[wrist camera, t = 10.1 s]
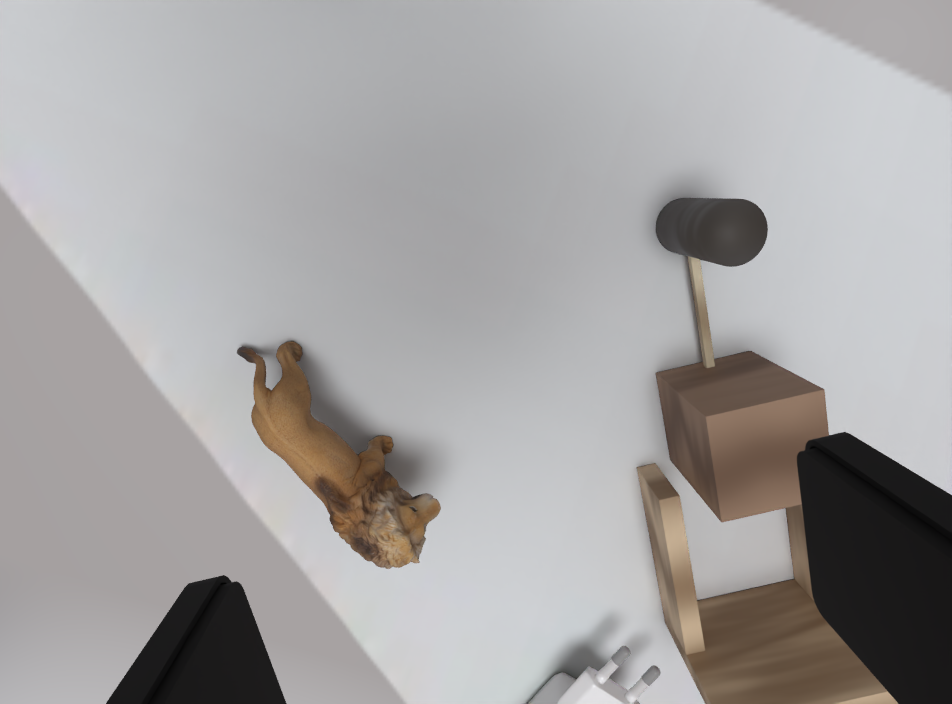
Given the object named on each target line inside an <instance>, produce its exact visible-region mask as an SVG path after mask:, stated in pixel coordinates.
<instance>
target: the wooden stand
mask: <svg viewBox="0 0 952 704" xmlns="http://www.w3.org/2000/svg"><path fill="white" fill-rule="evenodd" d="M637 471H638V476H639V482H640V487H641V493H642V498H643V504H644V509H645V514H646V520H647V525H648V531H649V536H650V542H651V547H652V553H653V558H654V564H655V569H656V575H657V580H658V586H659V591H660V596H661V602H662V607H663V613H664V618H665V623H666V625H667V627H668V629H669V632H670V634H671V636H672V638H673V640H674V642H675V644H676V646H677V648H678V650H679V652H680V654H681V656H682V658H683V660H684V662H685V664H686V666H687V668H688V670H689V672H690V674H691V676H692V678H693V680H694V682H695V684H696V686H697V688H698V690H699V692H700V694H701V696H702V698H703V700H704V702H705V704H898V703H897V701H896V700H895V699H894V698H893V697H892V696H891V695H890V693H889V692H888V691H887V690H886V689H885V688H884V687H883V685H882V684H881V683H880V682H879V681H878V680H877V679H876V677H875V676H874V675H873V674H872V673H871V672H870V671H869V669H868V668H867V667H866V666H865V665H864V664H863V663H862V661H861V660H860V659H859V658H858V657H857V656H856V655H855V653H854V652H853V651H852V650H851V649H850V648H849V647H848V645H847V644H846V643H845V642H844V641H843V640H842V639H841V637H840V636H839V635H838V634H837V633H836V632H835V631H834V629H833V628H832V627H831V626H830V625H829V624H828V623H827V621H826V620H825V619H824V618H823V617H822V615H821V614H820V612H819V610H818V609H817V606H816V604H815V602H814V599H813V595H812V589H811V580H810V572H809V563H808V554H807V546H806V537H805V528H804V520H803V511H802V504H800V505H796V506H792V507H787V508H786V514H787V522H788V530H789V538H790V547H791V555H792V563H793V572H794V579H792V580H788V581H783V582H779V583H774V584H770V585H766V586H761V587H757V588H752V589H748V590H743V591H739V592H734V593H730V594H726V595H721V596H717V597H712V598H708V599H703V600H699V601H697V598H696V592H695V586H694V580H693V574H692V568H691V562H690V556H689V550H688V544H687V538H686V532H685V526H684V520H683V514H682V508H681V502H680V496H679V494H678V493H677V492H676V490H675V489H674V488H673V486H672V485H671V484H670V482H669V481H668V480H667V478H666V477H665V476H664V474H663V473H662V472H661V470H660V469H659V468H658V466H657V465H656V464H655V463H654V464H650V465H646V466H641V467H637Z"/></svg>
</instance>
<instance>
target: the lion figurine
mask: <svg viewBox="0 0 952 704" xmlns="http://www.w3.org/2000/svg"><path fill="white" fill-rule="evenodd" d="M237 354H238V355H240V356H241V357H243V358H245V359H246V360H247V361H248V362H250V363H255V364H256V371H255V377H254V400H255V405H254V407H253V410H252V415H251V418H252V423H253V425H254V427H255V429H256V431H257V433H258V435H259V436H260V438H261V440H262V442H263V443H264V444H265V445H266V446H267V447H268V448H269V449H270V450H271V451H273V452H274V453H276V454H277V455H278V456H280V457H281V458H282V459H283V460H284V461H285V462H286V463H287V464H288V465H289V466H290V467H291V468H292V470H293V471H294V472H295V473H296V474H297V475H298V476H299V478H300V479H301V480H302V481H303V482H304V483H305V484H306V485H307V486H308V487H309V488H310V489H311V490H312V491H313V492H314V493H315V494H316V496H317V497H318V498H319V499H320V500H321V501H322V502H323V503H324V504H325V506H326V508H327V510H328V512H329V514H330V522H331V524H332V525H333V529H334V531H335V532H338V533H339V536H340V537H341V538H342V539H344V540H345V541H346V543H348V544H350V545H351V548H352V549H353V550H354V551H356V552H357V553H359V554H360V555H361V556H362V557H363V558H364V559H365V560H367V561H372V562H374V563H375V565H377V566H378V567H385V568H386V569H390V568H391V567H402V566H404V565H406V564H408V563H410V562H413V563H419V560H418V559H419V555H420V554H421V550H422V547H423V544H424V542H425V540H426V538H425V537H424V534H425V531H426V526H427V524H428V523H429V522H430V521H431V520H433V519H434V518H435V517H436V516H437V515H438V514H439V512H440V509H441V507H440V503H439V502H438V500H437V499H435V498H433V496H432V495H430V494H427V493H426V494H421V495H417V496H415V497H413V498H412V496H411V495H410V494H409V493H408V492H406V491H404V490H403V489H401V488H400V487H399V485H398V482H397V480H396V479H395V478H394V477H393V476H392V475H391V474H390V473H389V472H387V471H386V470H385V459H384V455H386V454H387V453H390V452H391V451H392V447H393V443H392V438H391V437H387V436H377V437H375V438H374V439H372V440H370V441H369V442H368V447H367V450H366V451H363V452H361V453H360V454H359V455H358V456H357V455H356V453H355V452H354V451H353V450H352V449H351V448H350V446H349V445H348V444H347V443H346V442H345V441H344V440H343V439H342V438H341V437H340V436H339V435H338V434H337V433H335V432H334V431H333V430H332V429H330V428H329V427H328V426H326V425H325V424H323V423H321V422H318V421H317V420H315V419H314V418H313V417H312V415H311V412H310V405H311V393H310V389H309V385H308V382H307V379H306V377H305V375H304V373H303V371H302V370H301V368H300V367H299V366H298V364H297V363H296V362H297V361H300V359H301V356H302V348H301V346H300V345H299V344H297V343H295V342H292V341H291V342H286V343H284V344H282V345H281V346H280V347H279V348H278V350H277V354H276V357H277V359H278V361H279V363H280V364H281V367H282V378H281V380H280V381H279V382H278V383H277V385H276V386H275V387H274V388H273V390H272V391H271V390H270V389H269V388H266V385H265V382H266V366H265V362H264V360H263V358H262V357H261V356H259V355H257V354H256V353H255V352H254V351H253V349H248V348H246V347H240V348H239V349H238V350H237Z"/></svg>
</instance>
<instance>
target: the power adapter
mask: <svg viewBox="0 0 952 704" xmlns="http://www.w3.org/2000/svg"><path fill="white" fill-rule="evenodd" d="M629 656H630V650H629V648H628V647H626V646H622V647H620V649H619V650H618V651H617V652H616V653H615V654H614V655H613V656H612V657H611V659H610V660H609V661H608V662H607V663H606V665H605V666H604V667H603V668H601V669H600V670H599V671H597V670H596V669H594V668H591V667H589V666H588V668H587V669H586V670H585V671H584V672H583V673H582V674H581V675H580V676H579V677H578V678H577V680H576V679H575V678H573V677H571V676H570V675H568V674H566V673H564V672H562V673H559V674H556V675H554V676H553V677H552V678H551V679H550V680H549V681H548V682H547V683H546V684H545V685H544V686H543V687H542V688H541V690H540V691H539V692H538V693H537V694H536V695H535V696H534V697H533V698H532V700H531V701H530V702H529V703H528V704H640V703H639V702H638V701H637V699H638V698H639V696H640V695H641V694H642V693H643V692H644V690H645V689H646V688H647V687H648V686H650V685H651V684H652V683H653V682H654V681H655V680H656V679H657V678H658V677H659V675H660V669H659V668H658V667H657V666H654V665H653V666H651V667H650V668H649V669H648V670H647V671H646V672H645V673H644V674H643V676H642V677H641V679H640V680H639V681H638V682H637V683H636V684H635V685H634V686H633V687H631V688H630V689H629V690H627V689H625V688H624V687H622V686H620V685H619V684H617V683H616V682H614V681H613V680H611V679H610V678H609V677H610V675H611V674H612V673H613V672H614V671H615V670H616V669H617V668H618V667H619V666H620V665H621V664H622V663H623V662H624V661H625V660H626V659H627V658H628V657H629Z"/></svg>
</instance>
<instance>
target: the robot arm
mask: <svg viewBox="0 0 952 704" xmlns="http://www.w3.org/2000/svg"><path fill="white" fill-rule="evenodd" d="M797 468H798V477H799V485H800V494H801V502H802V511H803V520H804V528H805V537H806V546H807V554H808V563H809V572H810V580H811V589H812V595H813V599H814V602H815V604H816V606H817V609H818V610H819V612H820V614H821V615H822V617H823V618H824V619H825V620H826V621H827V623H828V624H829V625H830V626H831V627H832V628H833V629H834V631H835V632H836V633H837V634H838V635H839V636H840V637H841V639H842V640H843V641H844V642H845V643H846V644H847V645H848V647H849V648H850V649H851V650H852V651H853V652H854V653H855V655H856V656H857V657H858V658H859V659H860V660H861V661H862V663H863V664H864V665H865V666H866V667H867V668H868V669H869V671H870V672H871V673H872V674H873V675H874V676H875V677H876V679H877V680H878V681H879V682H880V683H881V684H882V685H883V687H884V688H885V689H886V690H887V691H888V692H889V693H890V695H891V696H892V697H893V698H894V699H895V700H896V701H897V703H898V704H952V495H950V494H949V493H947V492H945V491H944V490H942V489H940V488H939V487H937V486H935V485H934V484H932V483H930V482H929V481H927V480H925V479H924V478H922V477H920V476H919V475H917V474H916V473H914V472H912V471H911V470H909V469H907V468H906V467H904V466H902V465H901V464H899V463H897V462H896V461H894V460H892V459H891V458H889V457H887V456H886V455H884V454H882V453H881V452H879V451H877V450H876V449H874V448H872V447H871V446H869V445H867V444H866V443H864V442H862V441H861V440H859V439H857V438H856V437H854V436H852V435H851V434H849V433H846V432H843V433H838V434H834V435H829V436H825V437H821V438H816V439H812V440H809V441H808V442H807V443H806V446H805V450H804V451H800V452H799V453H798V455H797ZM106 704H286V701H285V699H284V696H283V694H282V691H281V688H280V686H279V683H278V680H277V677H276V675H275V672H274V669H273V667H272V664H271V661H270V659H269V656H268V653H267V651H266V648H265V645H264V643H263V640H262V637H261V635H260V632H259V629H258V626H257V624H256V621H255V618H254V616H253V613H252V610H251V608H250V605H249V602H248V600H247V597H246V595H245V592H244V589H243V587H242V586H241V584H240V583H239V582H231V581H230V580H229V578H228V577H226V576H224V575H223V576H219V577H215V578H211V579H206V580H202V581H197V582H193V583H189V584H188V585H187V586H186V587H185V588H184V590H183V591H182V592H181V594H180V595H179V597H178V598H177V600H176V601H175V603H174V604H173V606H172V607H171V609H170V610H169V612H168V613H167V615H166V616H165V617H164V619H163V621H162V622H161V623H160V625H159V626H158V628H157V630H156V631H155V632H154V634H153V635H152V637H151V638H150V640H149V641H148V642H147V644H146V646H145V647H144V648H143V650H142V651H141V653H140V654H139V656H138V657H137V659H136V660H135V662H134V663H133V665H132V666H131V668H130V669H129V671H128V672H127V673H126V675H125V676H124V678H123V679H122V681H121V682H120V684H119V685H118V687H117V688H116V690H115V691H114V692H113V694H112V696H111V697H110V698H109V700H108V701H107V703H106Z"/></svg>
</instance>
